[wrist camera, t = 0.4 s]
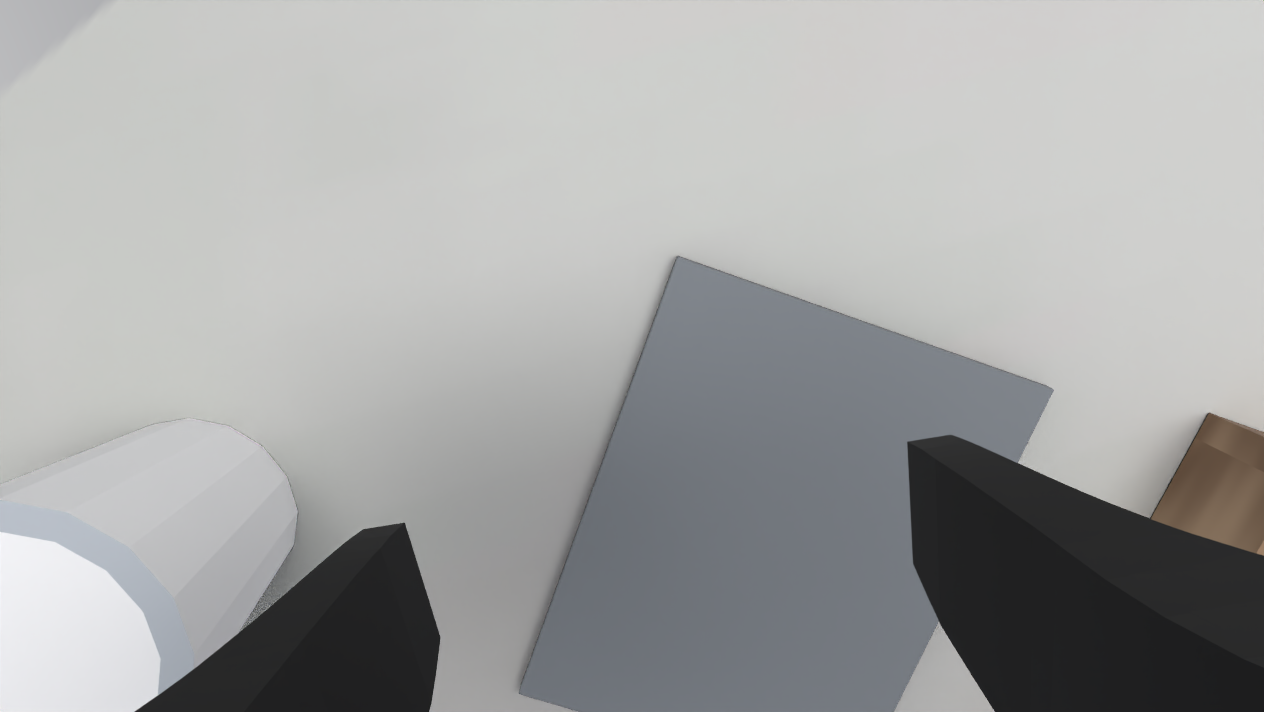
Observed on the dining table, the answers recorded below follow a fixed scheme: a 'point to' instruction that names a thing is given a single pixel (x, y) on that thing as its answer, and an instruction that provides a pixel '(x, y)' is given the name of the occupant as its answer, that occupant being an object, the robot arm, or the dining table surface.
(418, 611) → the robot arm
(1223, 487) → the rectangular wooden frame
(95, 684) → the shot glass
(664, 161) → the dining table surface
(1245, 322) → the dining table surface
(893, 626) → the slate mat
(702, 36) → the dining table surface
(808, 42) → the dining table surface
